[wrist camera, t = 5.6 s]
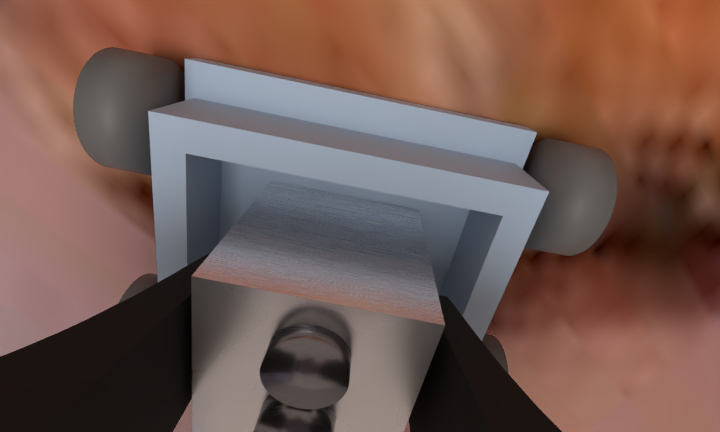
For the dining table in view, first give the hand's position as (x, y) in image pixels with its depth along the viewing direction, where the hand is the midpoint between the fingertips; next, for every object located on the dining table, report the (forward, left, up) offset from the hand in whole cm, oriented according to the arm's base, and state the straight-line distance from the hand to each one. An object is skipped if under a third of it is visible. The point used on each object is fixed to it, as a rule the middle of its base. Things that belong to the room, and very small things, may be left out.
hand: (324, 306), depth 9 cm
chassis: (0, 0, -3) cm, 3 cm away
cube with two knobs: (0, 0, -3) cm, 3 cm away
